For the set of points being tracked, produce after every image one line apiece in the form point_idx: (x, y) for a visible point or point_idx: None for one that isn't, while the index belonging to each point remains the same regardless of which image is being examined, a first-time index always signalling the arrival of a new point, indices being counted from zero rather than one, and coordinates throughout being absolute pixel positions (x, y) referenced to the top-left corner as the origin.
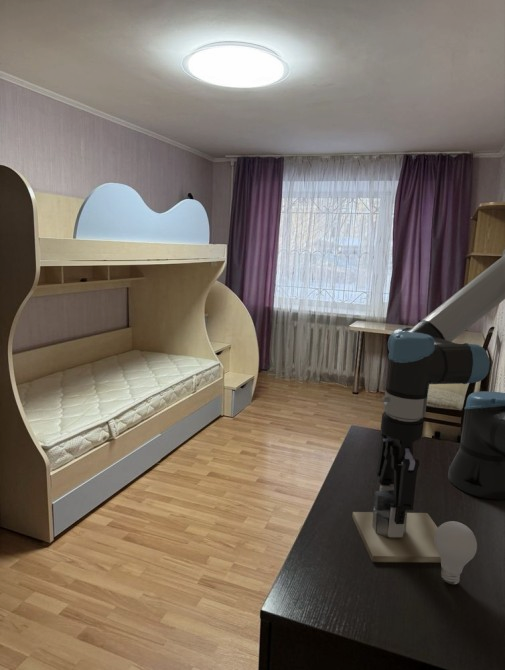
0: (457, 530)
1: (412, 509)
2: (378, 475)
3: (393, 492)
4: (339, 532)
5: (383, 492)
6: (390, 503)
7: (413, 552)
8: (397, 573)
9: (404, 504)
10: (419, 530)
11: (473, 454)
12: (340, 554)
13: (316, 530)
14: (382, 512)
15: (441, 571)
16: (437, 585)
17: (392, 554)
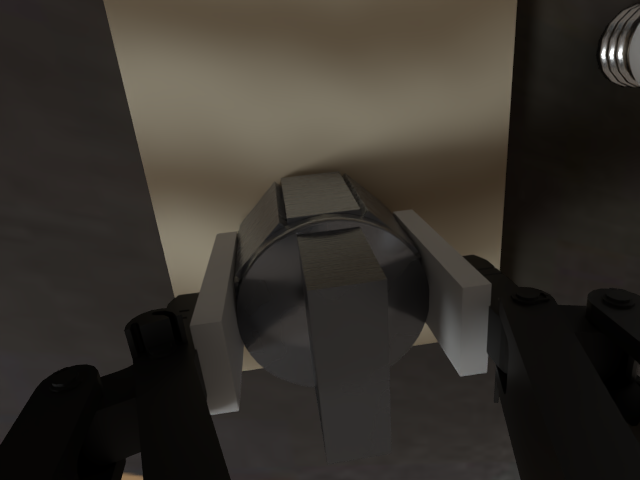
0: None
1: (634, 296)
2: (122, 461)
3: (350, 363)
4: (316, 409)
5: (346, 421)
6: (494, 398)
7: (481, 170)
8: (546, 244)
9: (635, 369)
10: (305, 86)
11: None
12: (442, 410)
13: (314, 475)
14: (391, 356)
15: (628, 85)
16: (623, 107)
17: (489, 261)
